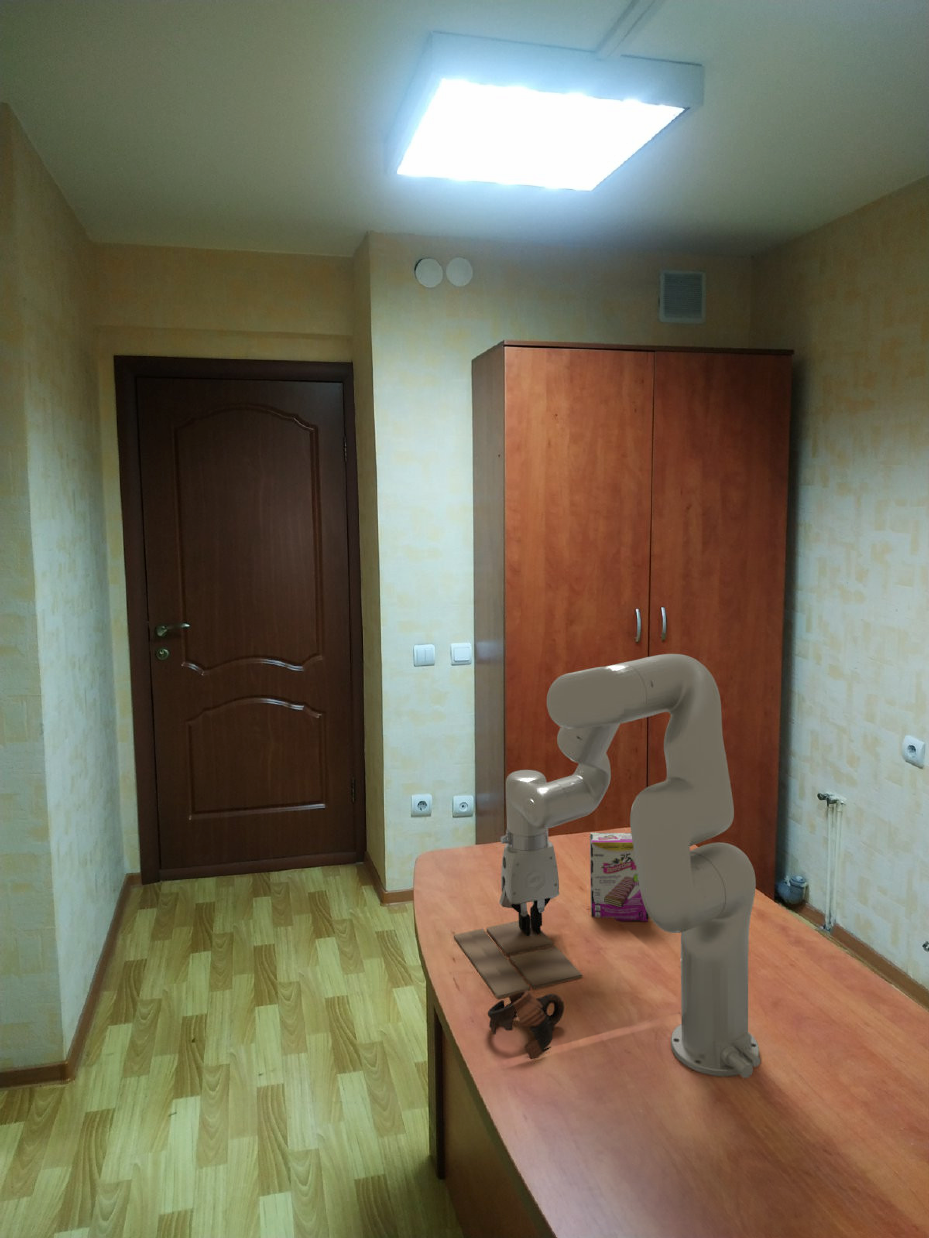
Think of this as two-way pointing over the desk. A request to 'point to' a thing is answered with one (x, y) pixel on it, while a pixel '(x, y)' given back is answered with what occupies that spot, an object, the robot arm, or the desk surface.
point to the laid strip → (491, 963)
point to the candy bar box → (615, 878)
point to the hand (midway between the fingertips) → (530, 930)
